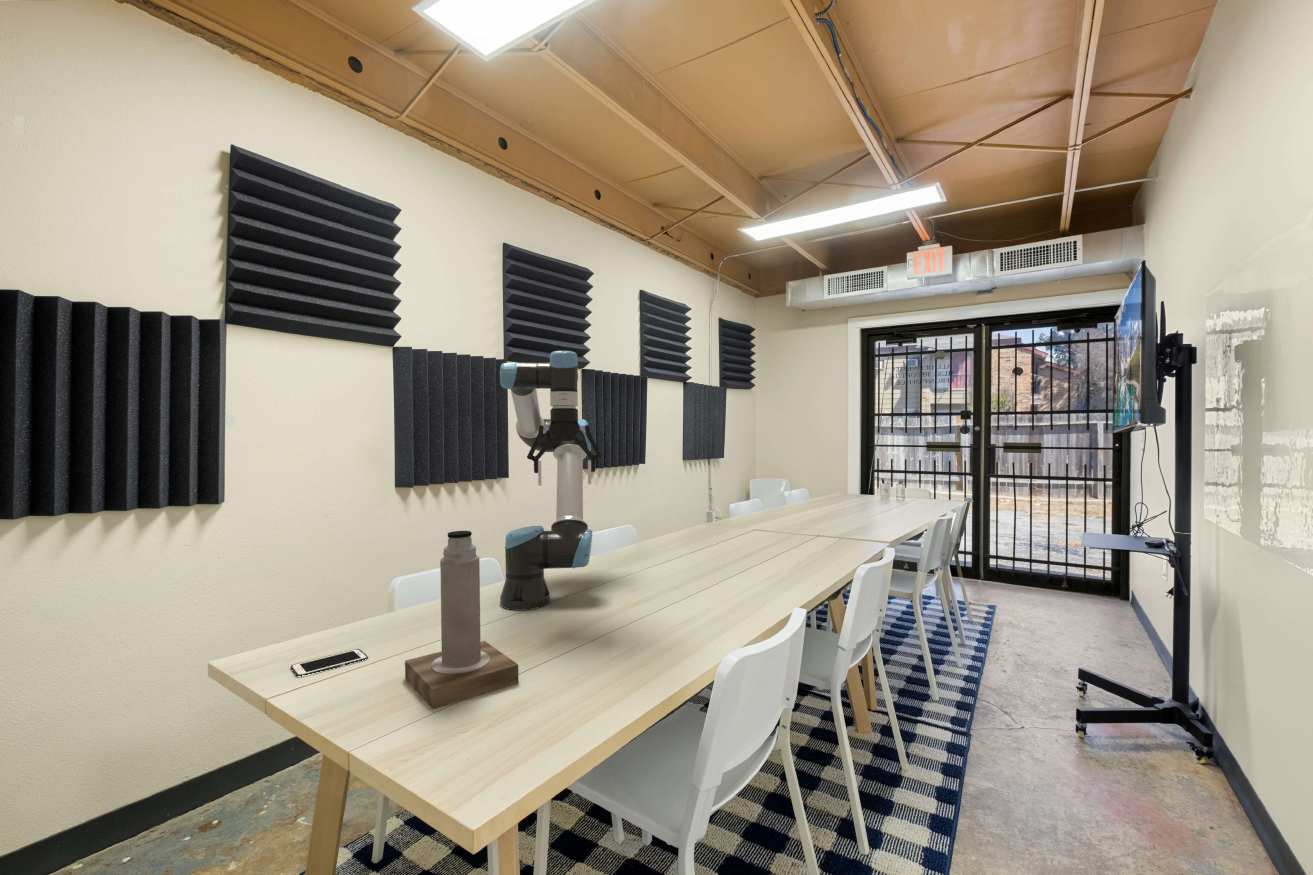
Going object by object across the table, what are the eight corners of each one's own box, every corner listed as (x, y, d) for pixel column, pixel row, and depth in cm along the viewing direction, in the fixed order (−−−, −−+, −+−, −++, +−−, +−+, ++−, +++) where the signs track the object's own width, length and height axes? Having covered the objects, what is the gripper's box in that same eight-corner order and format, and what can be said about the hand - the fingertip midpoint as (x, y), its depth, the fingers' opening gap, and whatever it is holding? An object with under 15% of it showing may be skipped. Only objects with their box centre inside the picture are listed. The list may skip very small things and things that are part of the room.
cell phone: (289, 669, 133) (289, 665, 133) (358, 651, 143) (358, 647, 143) (297, 679, 127) (297, 675, 127) (369, 660, 137) (369, 656, 137)
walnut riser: (405, 678, 126) (404, 659, 126) (484, 657, 138) (484, 639, 138) (432, 709, 112) (432, 687, 112) (518, 682, 124) (518, 663, 124)
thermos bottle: (452, 653, 129) (450, 528, 129) (486, 654, 129) (484, 528, 128) (434, 667, 122) (432, 534, 121) (471, 669, 121) (469, 535, 120)
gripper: (516, 407, 154) (517, 486, 155) (610, 407, 158) (611, 484, 159) (518, 408, 162) (519, 484, 162) (608, 408, 166) (608, 482, 166)
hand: (564, 484), depth 160 cm, fingers open, 13 cm apart
